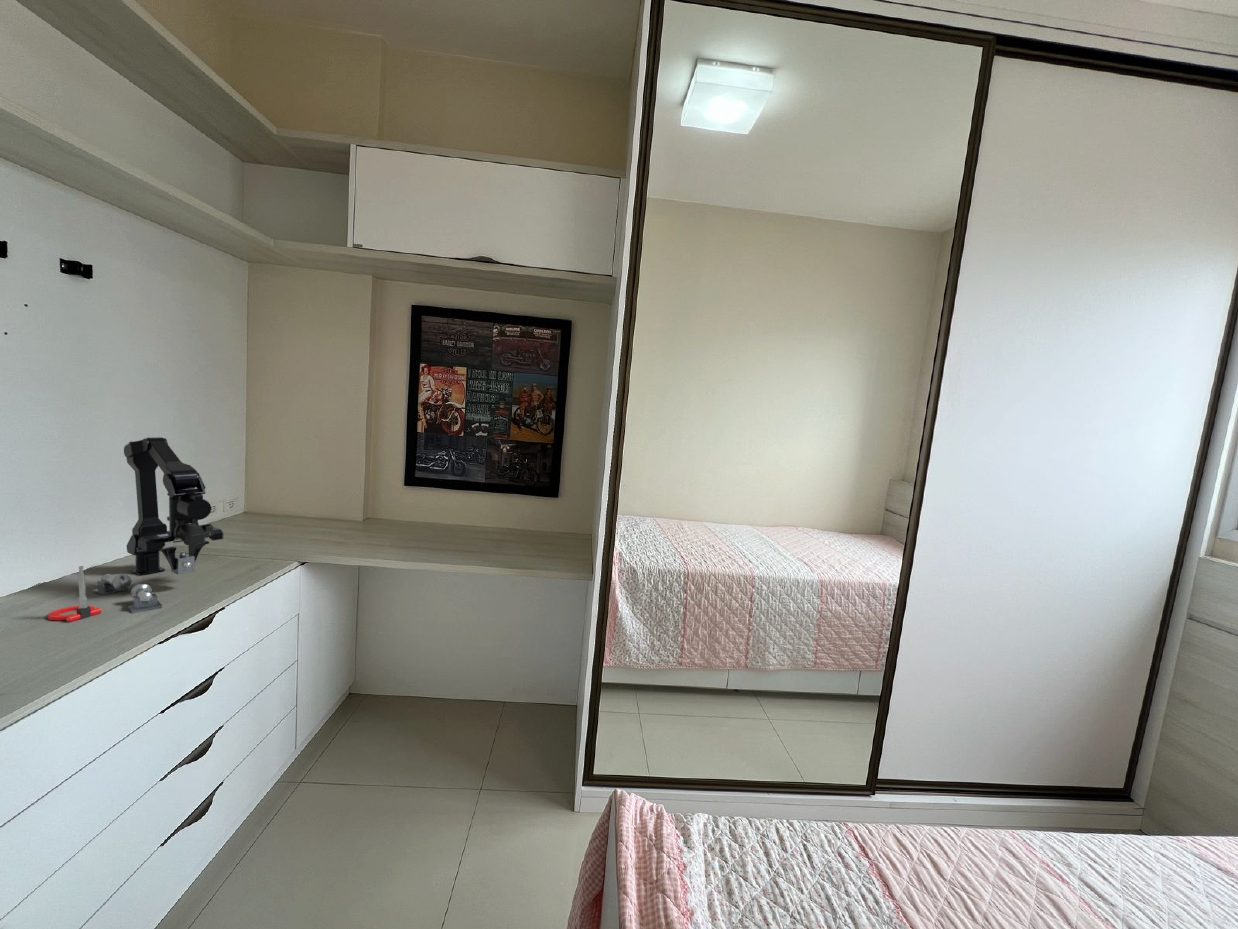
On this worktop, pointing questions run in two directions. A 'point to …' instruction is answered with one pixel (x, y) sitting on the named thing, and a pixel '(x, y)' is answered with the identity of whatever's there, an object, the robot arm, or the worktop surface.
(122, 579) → the shaft left
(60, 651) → the worktop surface
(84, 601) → the tow hook
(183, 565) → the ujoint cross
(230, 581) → the worktop surface
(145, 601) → the shaft right
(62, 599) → the worktop surface
